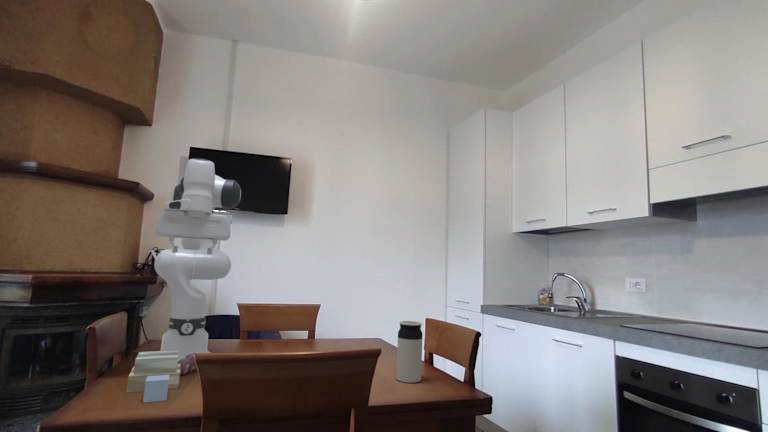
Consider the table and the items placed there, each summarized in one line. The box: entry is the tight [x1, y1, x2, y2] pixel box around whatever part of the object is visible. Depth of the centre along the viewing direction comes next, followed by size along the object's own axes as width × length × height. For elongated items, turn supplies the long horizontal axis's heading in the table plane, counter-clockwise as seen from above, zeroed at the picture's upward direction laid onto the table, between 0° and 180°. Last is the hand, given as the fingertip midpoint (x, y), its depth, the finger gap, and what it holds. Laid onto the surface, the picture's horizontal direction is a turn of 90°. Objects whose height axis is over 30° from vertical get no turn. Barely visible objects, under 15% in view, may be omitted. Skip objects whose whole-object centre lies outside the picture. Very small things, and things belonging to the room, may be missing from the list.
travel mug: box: [395, 320, 423, 384], centre depth 127 cm, size 8×8×18 cm
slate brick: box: [142, 375, 169, 403], centre depth 98 cm, size 5×5×5 cm
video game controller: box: [177, 353, 198, 375], centre depth 123 cm, size 10×5×7 cm, turn 168°
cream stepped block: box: [126, 350, 181, 394], centre depth 110 cm, size 12×12×8 cm
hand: (192, 253), depth 117 cm, fingers open, 8 cm apart
